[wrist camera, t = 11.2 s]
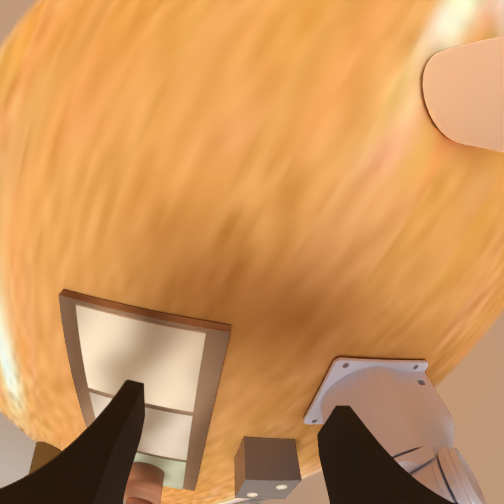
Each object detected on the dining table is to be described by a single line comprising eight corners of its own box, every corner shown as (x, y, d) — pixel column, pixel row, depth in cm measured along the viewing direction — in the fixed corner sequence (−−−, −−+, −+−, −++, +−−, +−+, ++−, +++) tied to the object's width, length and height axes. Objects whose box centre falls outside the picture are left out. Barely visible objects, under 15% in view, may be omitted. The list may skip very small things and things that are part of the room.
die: (294, 438, 26) (301, 481, 21) (280, 461, 27) (284, 499, 23) (243, 435, 25) (245, 480, 20) (234, 458, 27) (235, 499, 22)
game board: (230, 325, 20) (230, 334, 19) (195, 485, 29) (194, 491, 28) (63, 289, 18) (57, 296, 17) (103, 465, 28) (101, 471, 27)
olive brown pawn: (75, 470, 29) (58, 527, 19) (39, 453, 28) (18, 508, 18) (72, 454, 27) (51, 519, 17) (33, 436, 26) (7, 496, 16)
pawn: (159, 464, 25) (151, 513, 19) (168, 479, 27) (162, 524, 21) (123, 459, 25) (112, 506, 19) (135, 475, 27) (126, 518, 21)
